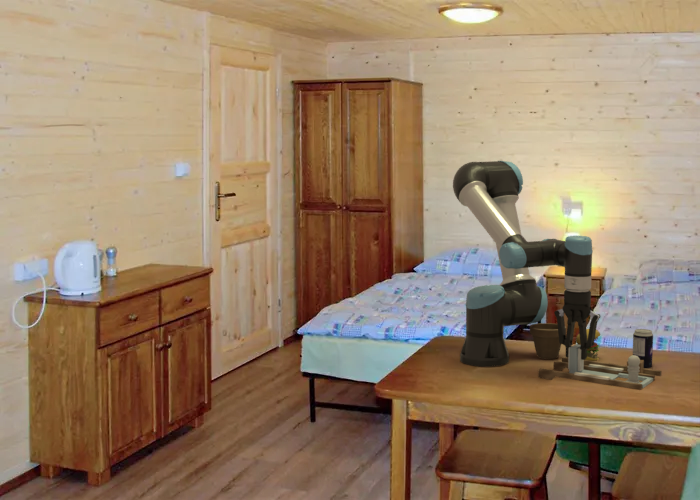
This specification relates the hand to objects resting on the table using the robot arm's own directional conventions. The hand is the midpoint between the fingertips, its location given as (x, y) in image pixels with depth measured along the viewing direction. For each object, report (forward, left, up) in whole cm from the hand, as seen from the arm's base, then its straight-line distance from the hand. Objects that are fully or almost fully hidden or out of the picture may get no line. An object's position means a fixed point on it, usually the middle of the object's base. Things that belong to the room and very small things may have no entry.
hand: (575, 369), depth 264 cm
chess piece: (+17, 0, -3) cm, 17 cm away
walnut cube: (+14, +9, -1) cm, 17 cm away
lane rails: (+6, +2, -2) cm, 7 cm away
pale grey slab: (+10, 0, -2) cm, 10 cm away
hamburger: (-4, +20, -3) cm, 20 cm away
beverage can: (+13, +20, -3) cm, 24 cm away
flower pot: (-17, +18, -3) cm, 25 cm away
